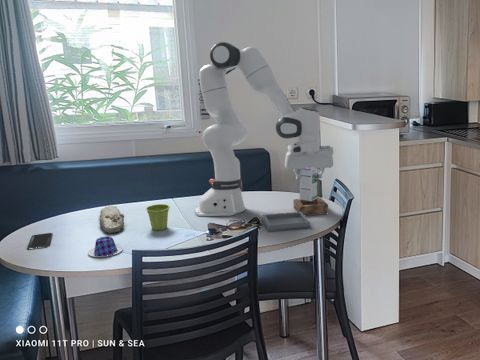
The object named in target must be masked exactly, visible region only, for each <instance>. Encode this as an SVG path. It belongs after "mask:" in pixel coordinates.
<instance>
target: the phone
mask: <svg viewBox="0 0 480 360" xmlns="http://www.w3.org/2000/svg"><path fill="white" fill-rule="evenodd" d="M53 234H54V233H53V232H47V233H39V234H32V235H31V237H30V240H29V242H28V244H27V249H28V248H36V247H37V248H38V247H45V248H47V247H46V246H49V247H51V244H52V240H53V237H54V235H53ZM38 249H39V248H38Z"/></svg>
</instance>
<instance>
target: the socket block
mask: <svg viewBox="0 0 480 360" xmlns="http://www.w3.org/2000/svg"><path fill="white" fill-rule="evenodd" d="M293 209H294V211H295V212H296V211H297V212H302V213H303V215H307V216H314V215H313V214H319V215H328V214H329V204H328V203H327V202H326V201H325V200H324V199H323V198H322V197H320V196H319V197H318V198H317V199H315V200H313V201H305V200H301V199H300V198H294V199H293ZM327 213H328V214H327Z"/></svg>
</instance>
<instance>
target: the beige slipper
mask: <svg viewBox="0 0 480 360" xmlns="http://www.w3.org/2000/svg"><path fill="white" fill-rule="evenodd" d="M117 207H118V206H115V205H107V206H105V207H104V208H102V209H101V210H100V213H99V214H100V215H99V224H100V226H101V227H102V229H103V230H104V232H105V233H109V234H112V233H113V234H114V233H117V232H118V233H119V232H121V231H122V229H124V227H125V222H124V221H125V220H124V218H125V214H124V213H121V211H120V209H118V208H117Z"/></svg>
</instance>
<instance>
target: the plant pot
mask: <svg viewBox="0 0 480 360" xmlns="http://www.w3.org/2000/svg"><path fill="white" fill-rule="evenodd" d="M170 207H171V206H170V205H168V204H165V203H164V204H163V203H160V204H157V203H156V204H152V205H149V206H147V207H145V210H146V211H147V214H148V217H149V223H150V226H151V229H152V230H154V231H159V230H160V231H163V230H166V229H167V228H168V218H169V216H168V215H169V210H170Z"/></svg>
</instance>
